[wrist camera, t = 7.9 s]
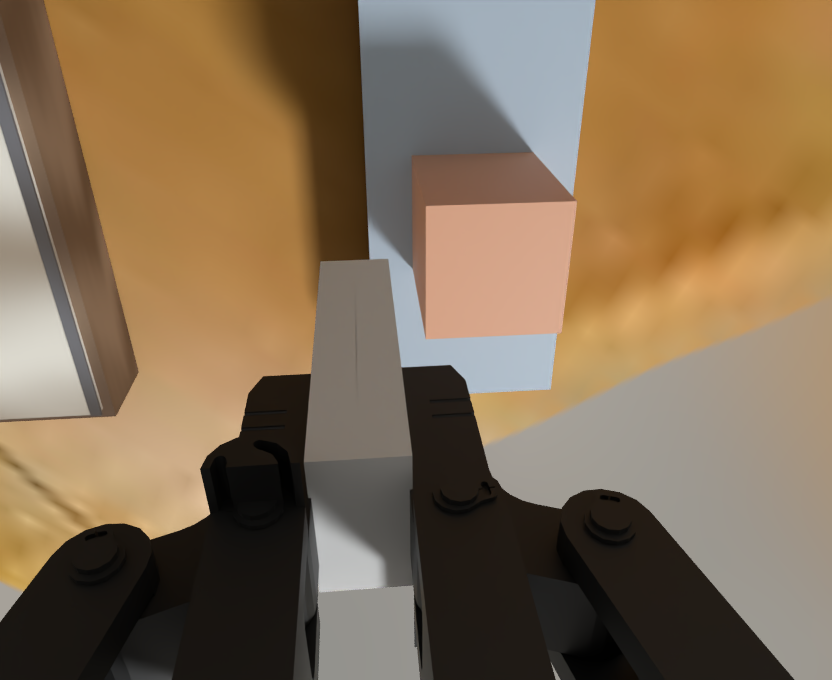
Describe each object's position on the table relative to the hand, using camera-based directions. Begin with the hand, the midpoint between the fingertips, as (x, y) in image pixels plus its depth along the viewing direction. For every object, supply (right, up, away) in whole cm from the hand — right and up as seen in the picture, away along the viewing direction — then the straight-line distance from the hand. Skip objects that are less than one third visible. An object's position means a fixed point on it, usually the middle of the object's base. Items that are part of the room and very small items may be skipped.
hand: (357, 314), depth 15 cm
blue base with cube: (+3, +5, +10) cm, 12 cm away
